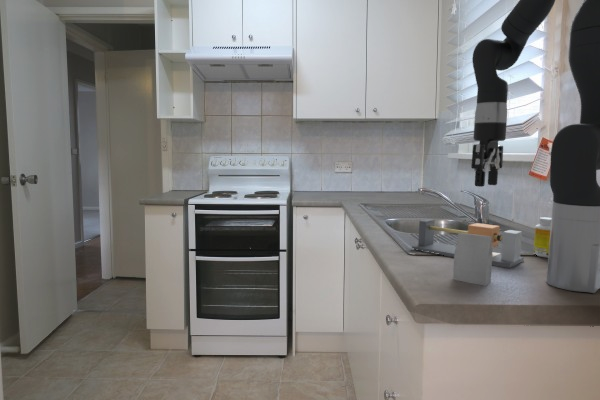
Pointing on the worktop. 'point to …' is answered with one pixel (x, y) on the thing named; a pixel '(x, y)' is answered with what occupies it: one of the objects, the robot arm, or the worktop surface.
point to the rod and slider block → (426, 233)
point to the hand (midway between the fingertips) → (486, 185)
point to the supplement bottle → (542, 237)
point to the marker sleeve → (485, 231)
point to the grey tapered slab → (473, 259)
